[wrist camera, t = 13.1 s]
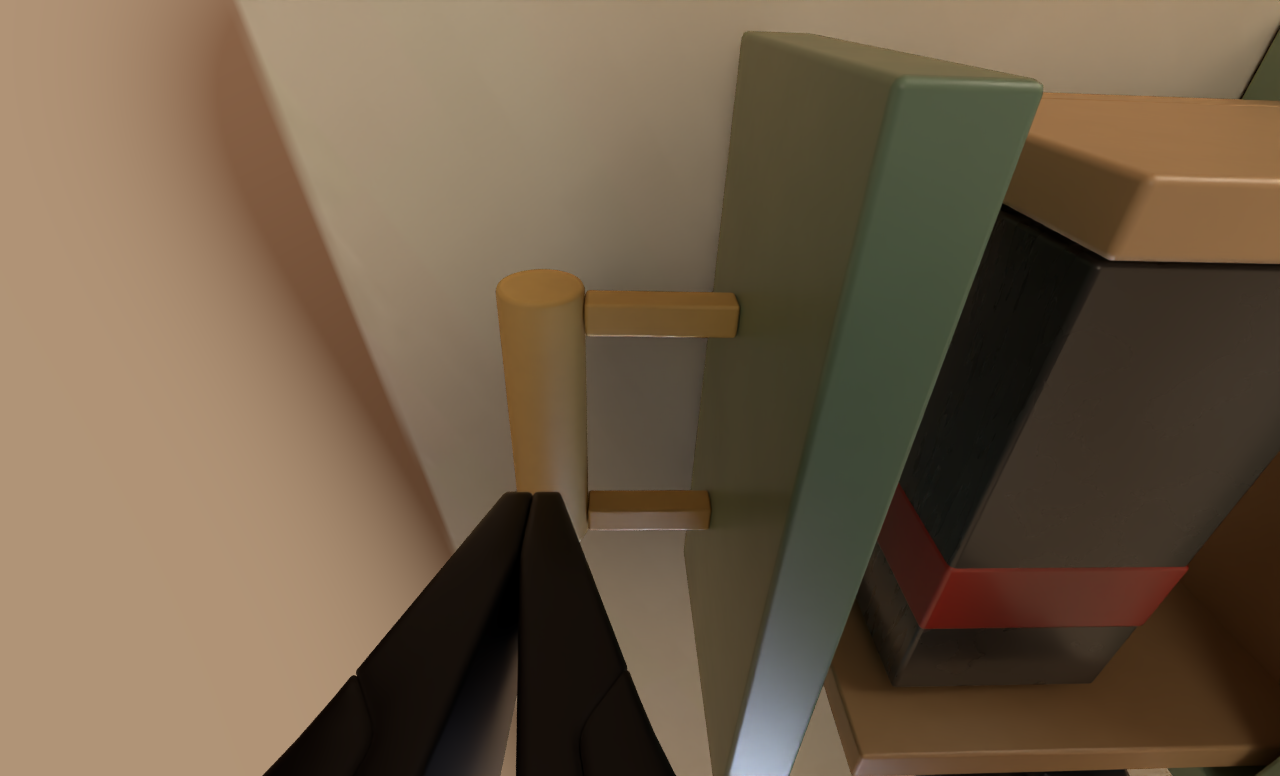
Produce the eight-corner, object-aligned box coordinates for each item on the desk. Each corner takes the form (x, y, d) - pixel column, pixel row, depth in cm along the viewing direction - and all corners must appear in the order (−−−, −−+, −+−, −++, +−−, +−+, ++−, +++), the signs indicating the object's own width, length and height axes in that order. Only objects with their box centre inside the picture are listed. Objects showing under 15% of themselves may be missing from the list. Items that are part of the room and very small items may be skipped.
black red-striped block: (1161, 180, 10) (1437, 270, 7) (985, 529, 15) (1095, 687, 11) (931, 173, 10) (1097, 263, 7) (825, 530, 15) (890, 690, 11)
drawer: (541, 552, 16) (508, 817, 11) (498, 20, 9) (356, 55, 4) (1113, 548, 17) (1334, 792, 12) (1455, 58, 10) (2336, 127, 5)
